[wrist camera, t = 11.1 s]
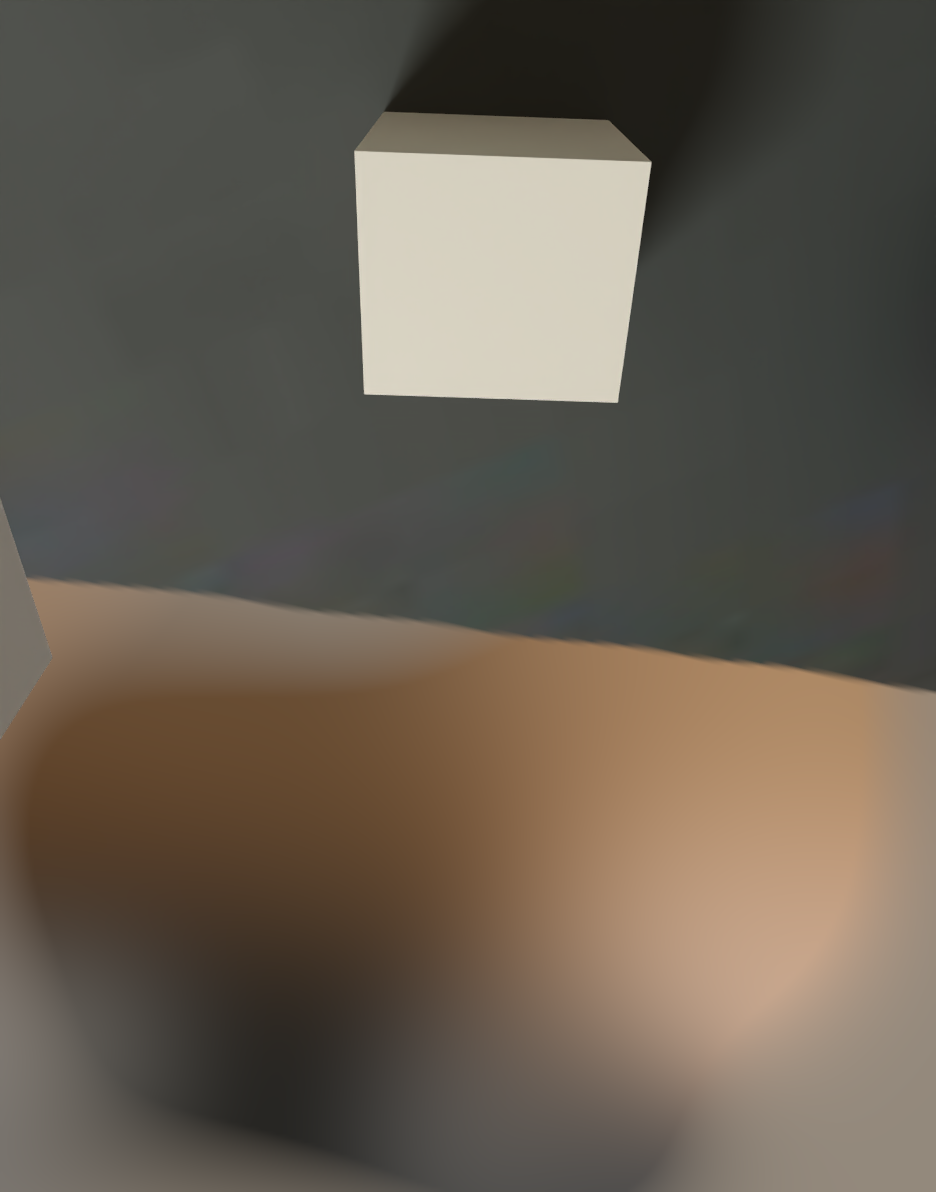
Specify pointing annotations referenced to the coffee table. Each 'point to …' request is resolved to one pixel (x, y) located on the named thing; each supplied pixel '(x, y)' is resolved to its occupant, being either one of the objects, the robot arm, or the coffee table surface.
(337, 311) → the coffee table surface
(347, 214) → the coffee table surface
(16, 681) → the robot arm
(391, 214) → the cream block
